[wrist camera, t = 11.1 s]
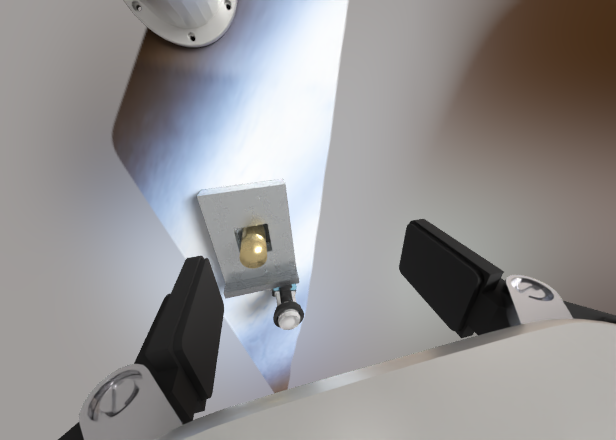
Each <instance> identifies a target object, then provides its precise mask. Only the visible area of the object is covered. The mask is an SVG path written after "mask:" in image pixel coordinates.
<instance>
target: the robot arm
mask: <svg viewBox="0 0 616 440" xmlns="http://www.w3.org/2000/svg"><path fill="white" fill-rule="evenodd" d="M124 2H125V3H126V4H127V6H128V7H129V8H130V10H131V11H132V12H133V14H134V15H135V16H136V17H137V18H138V19H139V20H140V21H141V22H142V23H143V24H144V25H145V26H146V27H148V28H149V29H150V30H151V31H153V32H154V33H155V34H157V35H159V36H160V37H162V38H163V39H165V40H167V41H169V42H172V43H174V44H176V45H180V46H184V47H202V46H207V45H209V44H211V43H213V42H215V41H217V40H218V39H219V38H221V37H222V36H223V35H224V34H225V32H226V31H227V30H228V28H229V27H230V25H231V23H232V21H233V18H234V16H235V12H236V8H237V2H238V0H124ZM227 6H230V7H231V9H230V10H227V8H226V7H227ZM138 7H141V11H138ZM192 37H195V41H192V40H191V38H192ZM399 270H400V272H401V274H402V275H403V276H404V277H405V278H406V279H407V281H408V282H409V283H410V284H411V285H412V286H413V287H414V288H415V290H416V291H417V292H418V293H419V294H420V295H421V296H422V298H423V299H424V300H425V301H426V302H427V303H428V304H429V305H430V307H431V308H432V309H433V310H434V311H435V312H436V313H437V314H438V315H439V317H440V318H441V319H442V320H443V321H444V322H445V323H446V325H447V326H448V327H449V328H450V329H451V330H453V331H455V332H456V333H457V334H458V335H459V336H460V337H461V338H464V337H467V336H471V335H473V333H474V332H475V333H476V334H477V335H478V336H475V337H471V338H467V339H464V340H461V341H456V342H453V343H450V344H446V345H442V346H438V347H435V348H431V349H428V350H424V351H421V352H417V353H413V354H410V355H406V356H403V357H399V358H396V359H392V360H389V361H385V362H382V363H378V364H375V365H371V366H368V367H364V368H361V369H357V370H353V371H350V372H347V373H343V374H340V375H336V376H333V377H329V378H326V379H323V380H319V381H315V382H312V383H309V384H305V385H302V386H298V387H295V388H291V389H288V390H284V391H281V392H277V393H274V394H271V395H268V396H265V397H261V398H258V399H255V400H252V401H248V402H245V403H242V404H239V405H235V406H232V407H229V408H226V409H223V410H220V411H217V412H214V413H212V414H209V415H206V416H203V417H201V418H198V419H195V420H193V417H194V413H198V412H201V411H204V410H205V405H206V399H208V398H211V396H212V392H213V384H214V378H215V371H216V362H217V356H218V349H219V342H220V334H221V328H222V321H223V314H224V304H223V300H222V297H221V295H220V292H219V289H218V286H217V283H216V280H215V277H214V274H213V271H212V268H211V265H210V262H209V260H208V258H206V259H204V258H203V256H197V257H191V258H187V259H186V260H185V263H184V265H183V267H182V269H181V272H180V274H179V277H178V279H177V281H176V283H175V286H174V288H173V290H172V292H171V294H168V295H167V296H166V297H165V298H164V300H163V302H162V304H161V307H160V309H159V311H158V313H157V315H156V317H155V320H154V322H153V324H152V326H151V328H150V331H149V333H148V335H147V337H146V339H145V341H144V343H143V346H142V348H141V350H140V352H139V354H138V356H137V359H136V361H135V363H134V364H132V365H127V366H125V367H122V368H120V369H118V370H116V371H115V372H113V373H111V374H110V375H108V376H107V377H106V378H105V379H104V380H102V381H101V382H100V383H99V384H98V385H97V386H96V387H95V388H94V389H93V390H92V392H91V393H90V394H89V395H88V397H87V399H86V400H85V402H84V403H83V406H82V408H81V411H80V414H79V422H78V423H77V424H76V425H75V426H74V427H72V428H71V429H70V430H69V431H68V432H67V433H65V435H63V436H62V437H61V438H59V439H58V440H616V316H615V315H612V314H608V313H604V312H601V311H598V310H594V309H590V308H587V307H583V306H579V305H576V304H573V303H569V302H566V301H562V299H561V297H560V296H559V294H558V293H557V292H556V291H555V290H554V289H552V288H551V287H550V286H548V285H547V284H545V283H543V282H542V281H539V280H537V279H534V278H531V277H528V276H523V275H511V276H508V277H507V278H506V280H505V281H504V280H503V279H501V276H502V274H503V271H502V270H501V269H499V268H498V267H496V266H494V265H493V264H492V263H490V262H489V261H487V260H486V259H484V258H482V257H481V256H479V255H478V254H476V253H475V252H473V251H472V250H470V249H469V248H467V247H466V246H464V245H463V244H461V243H460V242H458V241H457V240H455V239H454V238H452V237H450V236H449V235H448V234H446V233H445V232H443V231H442V230H440V229H438V228H437V227H436V226H434V225H433V224H431V223H429V222H428V221H426V220H425V219H419V220H413V221H411V222H410V223H409V224H408V225H407V228H406V233H405V239H404V244H403V249H402V255H401V260H400V265H399Z"/></svg>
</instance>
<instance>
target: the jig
mask: <svg viewBox="0 0 616 440" xmlns="http://www.w3.org/2000/svg"><path fill="white" fill-rule="evenodd" d="M197 199H198V202H199V205H200V208H201V211H202V214H203V217H204V220H205V223H206V226H207V229H208V232H209V235H210V238H211V241H212V244H213V247H214V250H215V253H216V256H217V259H218V262H219V265H220V268H221V271H222V274H223V277H224V280H225V283H226V284H225V289H224V295H225V298H230V297H235V296H240V295H244V294H249V293H254V292H258V291H263V290H268V289H273V288H277V287H282V286H287V285H292V284H296V283H299V278H298V274H297V270H296V263H295V255H294V247H293V239H292V232H291V224H290V216H289V209H288V201H287V193H286V185H285V182H284V179H277V180H270V181H263V182H255V183H248V184H240V185H233V186H226V187H218V188H211V189H203V190H201V191H200V192H199V194H198V195H197ZM261 224H268V229H269V234H270V240H271V242H269V243H266V247H267V261H266V262H265V264H264V265H262V266H261V267H259V268H253V269H252V268H247V267H245V266H244V265H242V263H241V262H240V249H241V243H240V239H239V235H238V231H237V228H243V227H249V226H255V225H261Z"/></svg>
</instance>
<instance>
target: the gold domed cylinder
mask: <svg viewBox="0 0 616 440" xmlns="http://www.w3.org/2000/svg"><path fill="white" fill-rule="evenodd" d="M266 261H267V247H266V234H265V228H264V226H263V225H262V224H261V225H255V226H249V227H244V228H243V231H242V240H241V249H240V262H241V263H242V265H244V266H245V267H247V268H252V269H253V268H259V267H261V266H262V265H264V264H265V262H266Z"/></svg>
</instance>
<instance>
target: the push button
mask: <svg viewBox="0 0 616 440" xmlns="http://www.w3.org/2000/svg"><path fill="white" fill-rule="evenodd" d="M268 290H272V296H274V297H275V296H276V299H277V308H276V310H275V313H274V317H273V319H274V323H275V325H276V326H278V327H280V328H282V329H284V330H290V329H294V328H295V327H297V326H298V325H299V323H301V321H302V320H303V318H304V313H303V310H302V309H301V306H300V305H299V304H297V303H296V299H295V293H296V284H292V285H287V286H282V287H277V288H273V289H268ZM291 300H292V301H291ZM298 311H299V312H298Z"/></svg>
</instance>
